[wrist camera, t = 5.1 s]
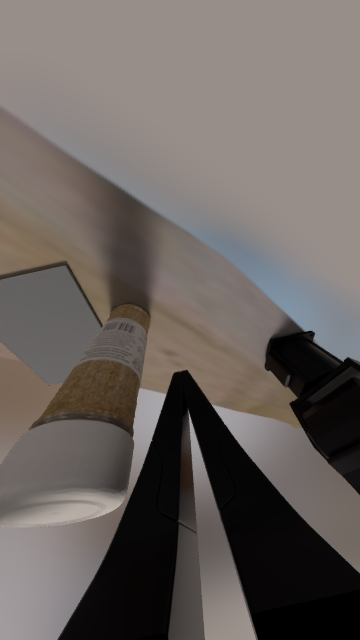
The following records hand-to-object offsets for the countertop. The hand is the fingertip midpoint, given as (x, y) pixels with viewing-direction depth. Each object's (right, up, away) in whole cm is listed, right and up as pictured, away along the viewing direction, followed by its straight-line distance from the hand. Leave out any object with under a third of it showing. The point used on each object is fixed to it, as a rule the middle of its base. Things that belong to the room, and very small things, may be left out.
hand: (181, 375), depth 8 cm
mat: (-15, +1, +8) cm, 17 cm away
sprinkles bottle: (-6, +3, +8) cm, 11 cm away
